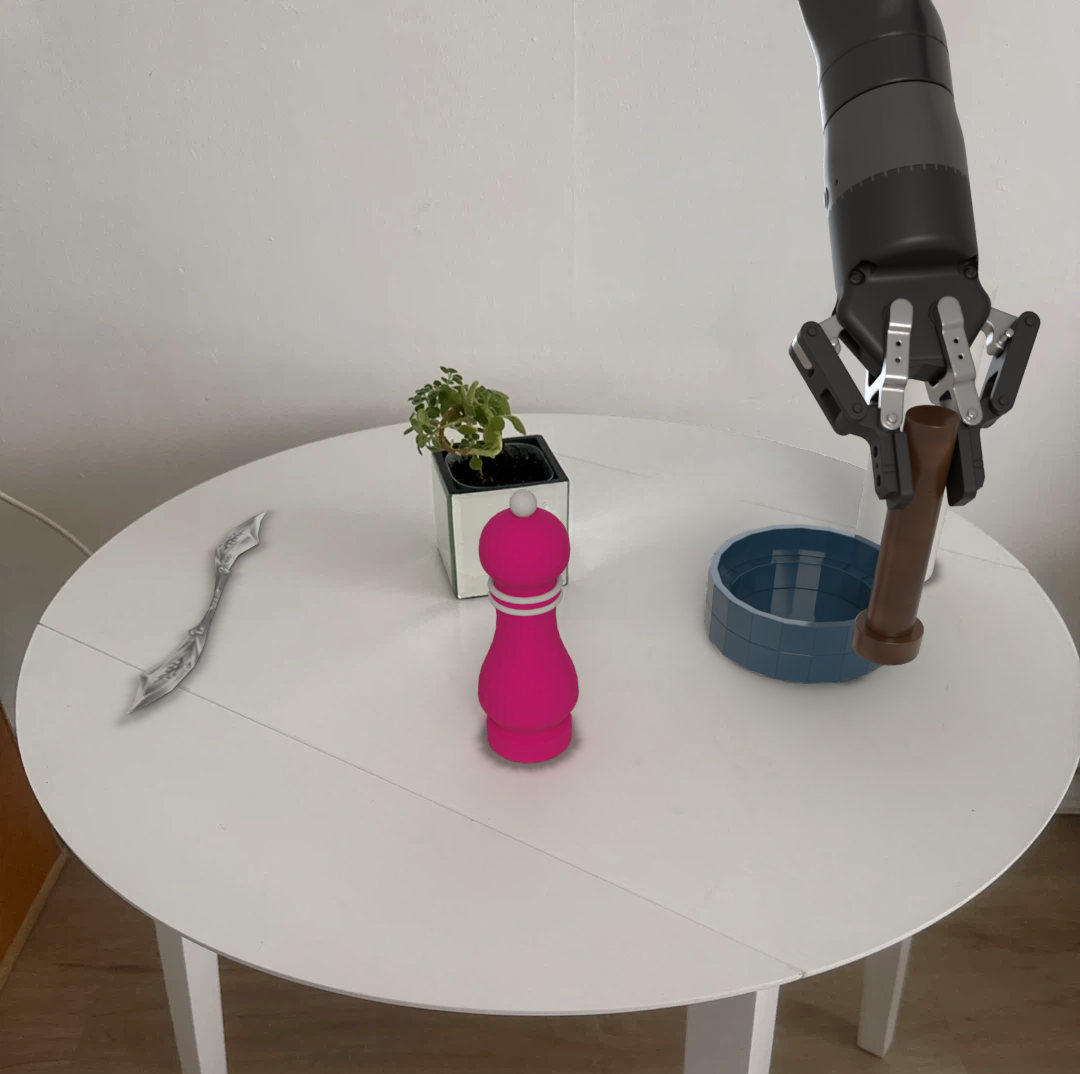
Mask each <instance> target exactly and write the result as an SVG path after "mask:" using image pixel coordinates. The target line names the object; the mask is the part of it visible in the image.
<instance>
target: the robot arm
mask: <svg viewBox="0 0 1080 1074" xmlns="http://www.w3.org/2000/svg"><path fill="white" fill-rule="evenodd" d="M796 1H797V5H798V7H799V11H800V15H801V18H802V21H803V24H804V27H805V31H806V34H807V37H808V39H809V42H810V45H811V48H812V51H813V54H814V55H813V56H814V58H815V62H816V69H817V89H818V98H819V109H820V116H821V126H822V135H823V161H822V163H823V165H822V167H823V168H822V175H823V187H824V188H823V189H824V192H823V206H824V209H825V212H826V216H827V225H828V233H829V234H828V235H829V243H830V252H831V253H830V254H831V262H832V270H833V280H834V289H835V292H836V302H835V305H834V307H833V309H832V312H831V315H830V316H829V317H828V318H826V319H824V320H822V321H820V322H816V321H814V320H808V321H806V322H804V323H803V324H802V326H801V327H800V329H799V331H798V332H797V333H796V335H795V337H794V338H793V340H792V342H791V343H790V345H789V347H788V355H789V357H790V359H791V361H792V362H793V364H794V366H795V368H796V369H797V370H798V372H799V374H800V375H801V378H802V379H803V381H804V382H805V384H806V386H807V388H808V390H809V391H810V393H811V395H812V397H814V399H815V401H816V403H817V405H818V406H819V408H820V410H821V411H822V413H823V414H824V416H825V418H826V420H827V422H828V423H829V426H831V428H832V430H833V431H834V432H835V434H836V435H839V436H842V437H846V436H848V435H853V436H856V437H859V438H860V439H863V440H865V442H866V443H867V444H868V446H869V451H870V450H871V459H872V468H873V477H874V486H875V492H876V494H877V496H878V498H879V500H886V505H887V508H888V510H900V509H904V508H905V507H906V506H907V505H909V504H910V503H911V502H912V500H913V497H914V488H913V479H912V470H911V462H910V453H909V444H908V435H907V431H903V432H901V430H900V426H901V425H902V422H903V409H904V391H905V387H906V385H907V381H908V379H914V380H919V381H923V382H924V383H925V386H926V390H927V393H928V397H929V400H930V402H931V403H932V404H934V405H936V406H942V407H946V408H949V409H951V410H953V411H955V412H957V413H958V414H959V415H960V418H961V421H960V425H959V429H958V434H957V438H956V443H955V447H954V452H953V456H952V461H951V465H950V469H949V474H948V478H947V483H946V492H947V500H948V506H949V507H950V508H951V507H952V508H953V507H965V506H966V505H968V504H969V503H970V502H971V501H973V500H974V499H975V498H976V497H977V494H978V491H979V490H980V489H981V488H983V487H984V485H985V484H984V483H985V479H986V472H985V465H984V456H983V447H982V440H981V430H982V429H989V428H991V427H992V426H993V425H994V424H996V422H997V421H998V420H999V419H1000V418H1001V417H1002V416H1004V415H1006V414H1008V413H1009V412H1010V411H1011V410H1012V409H1013V407H1014V405H1015V402H1016V400H1017V398H1018V397H1017V396H1018V394H1019V390H1020V387H1021V384H1022V382H1023V378H1024V376H1025V373H1026V370H1027V367H1028V363H1029V360H1030V357H1031V354H1032V352H1033V348H1034V345H1035V342H1036V340H1037V336H1038V333H1039V330H1040V327H1041V323H1042V322H1041V318H1040V316H1039V315H1038V313H1036V312H1035V311H1031V310H1026V311H1024V312H1021V314H1019V316H1016V315H1013V314H1011V313H1008V312H1005V311H1004V310H1001V309H998V308H996V307H994V306H993V307H991V300H990V298H989V296H988V294H987V293H986V291H985V290H984V288H983V287H982V285H981V283H980V280H979V276H978V271H979V263H980V261H979V260H980V259H979V257H980V256H979V247H978V238H977V229H976V221H975V214H974V213H975V212H974V206H973V205H974V204H973V198H972V197H973V196H972V191H971V190H972V189H971V183H970V174H969V166H968V156H967V149H966V142H965V137H964V133H963V128H962V125H961V122H960V119H959V116H958V112H957V108H956V102H955V93H954V85H953V76H952V70H951V69H952V68H951V61H950V53H949V47H948V46H949V45H948V40H947V36H946V32H945V28H944V25H943V20H942V19H941V16H940V14H939V12H938V10H937V8H936V6H935V4H934V3H933V1H932V0H796ZM980 330H981V331H983V332H984V334H985V335H986V340H985V348H986V354H987V355H988V356H991V357H992V358H991V361H990V364H989V366H988V369H987V372H986V376H985V378H984V380H983V384H982V387H981V390H980V393H979V394H978V390H977V388H976V384H975V378H976V369H975V365H974V362H973V358H972V355H971V351H970V347H971V345H972V344H973V342H974V340H975V339H976V337H977V335H978V334H979V332H980ZM840 341H841V342H842V343H843V345H844V346H845V347H846V348H847V349H848V350H849V351H850V353H851V354H853V356H854V357H855V358H856V359H857V361H858V362H859V363H860V364H861V365H862V366H863V367H864V368H865V379H864V396H863V394H862V393H861V391H860V389H859V388H858V386H857V384H856V383H855V380H854V379H853V377H852V375H851V374H850V372H849V371H848V369H847V366H845V364H844V362H843V361H842V359H841V357H840V353H841V351H842V345H841V343H840Z"/></svg>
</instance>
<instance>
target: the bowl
mask: <svg viewBox="0 0 1080 1074" xmlns="http://www.w3.org/2000/svg"><path fill="white" fill-rule="evenodd" d="M879 549H880V545H879V544H877V543H874V542H872V541H870V540H868V539H866V538H864V537H862V536H860V535H856V534H855V533H853V532H849V531H845V530H842V529H838V528H834V527H830V526H823V525H821V526H820V525H813V524H806V523H805V524H804V523H798V524H797V523H796V524H794V523H793V524H773V525H768V526H763V527H758V528H755V529H754V528H753V529H749V530H745V531H743V532H742V533H740V534H739V533H738V534H737V535H735V536H733V537H730V538H729V539H727V540H725V542H723V543H722V544H721V545H720V546H719V547H718V548H717V549H716V550H715V551H714V552H713V554H712V556H711V560H710V563H709V567H708V573H707V574H708V575H707V585H706V596H705V597H706V598H705V605H704V606H705V607H704V620H703V624H704V627H705V629H706V634H707V637H708V639H709V641H710V642H711V643H712V644H713V645H714V647H716V649H717V650H718V651H719V652H720V653H721V654H722V656H724V657H725V658H727V659H729V660H730V661H732V662H734V663H735V664H737V665H738V666H740V667H741V668H743V669H745V670H747V671H751V672H753V673H755V674H759V675H761V676H764V677H768V678H770V679H774V680H779V681H784V682H785V681H786V682H789V683H790V682H791V683H801V684H807V685H808V684H809V685H810V684H828V683H831V684H832V683H841V682H845V681H849V680H852V679H857V678H860V677H863V676H867V675H869V674H870V673H872V672H874V671H875V670H877V669H879V668H881V667H882V666H883V665H881V664H877V663H873V662H870V661H868V660H866V659H864V658H862V657H861V656H859V655H858V654H857V653H856V652H855V651H854V649H853V647H852V644H851V640H852V635H853V629H854V624H855V619H856V617H857V615H858V614H859V613H860V612H862V611H863V610H866V609H868V606H869V600H870V595H871V590H872V585H873V580H874V575H875V569H876V564H877V559H878V554H879Z"/></svg>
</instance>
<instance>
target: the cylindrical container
mask: <svg viewBox="0 0 1080 1074" xmlns="http://www.w3.org/2000/svg"><path fill="white" fill-rule="evenodd" d="M978 276H979V280H980V283H981V285H982V287H983V288H984V290H985V291H986V293H987V294H988V296H989V298H990V300H991V307H993V308H994V304H995V300H996V295H997V291H998V286H999V282H998V281H997V279H995V278H994V277H993V276H992V275H990V274H988V273H986V272H983V271H980V270H978ZM985 345H986V335H985V334H984V332H983V331H981V330H980V332H979V334H978V335H977V337H976V339H975V340H974V342H973V344H972V345H971V347H970V351H971V355H972V358H973V362H974V365H975V369H976V378H975V385H976V383H977V379H978V375H979V371H980V365H981V361H982V357H983V353H984V348H985ZM919 405H934V404H932V403H931V402H930V400H929V397H928V393H927V390H926V386H925V383H924V382H923V381H919V380H914V379H908V381H907V385H906V387H905V391H904V409H903V422H902V425H901V426H900V430H901V432H902V429H903V424H904V419H905V414H906V411H907V410H908V409H909V408H911V407H914V406H919ZM948 506H949V504H948V500H947V492H946V487H945V492H944V496H943V501H942V505H941V509H940V514H939V518H938V523H937V527H936V532H935V536H934V541H933V545H932V549H931V554H930V558H929V563H928V567H927V572H926V576H925V581H924V583H925V582H926V581H928V580H929V579H930V578H931V577H932V576H933V572H934V568H935V564H936V559H937V555H938V550H939V548H940V547H939V546H940V542H941V539H942V533H943V528H944V524H945V520H946V516H947V511H948ZM886 512H887V505H886V500H879V498H878V496H877V494H876V492H875V486H874V477H873V468H872V459H871V450H870V449H869V453H868V458H867V463H866V468H865V474H864V481H863V487H862V493H861V498H860V503H859V510H858V516H857V522H856V525H855V526H856V527H855V532H854V534H856V535H860V536H862V537H864V538H866V539H868V540H870V541H872V542H874V543H877V544H879V545H880V543H881V538H882V533H883V528H884V523H885V517H886Z"/></svg>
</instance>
